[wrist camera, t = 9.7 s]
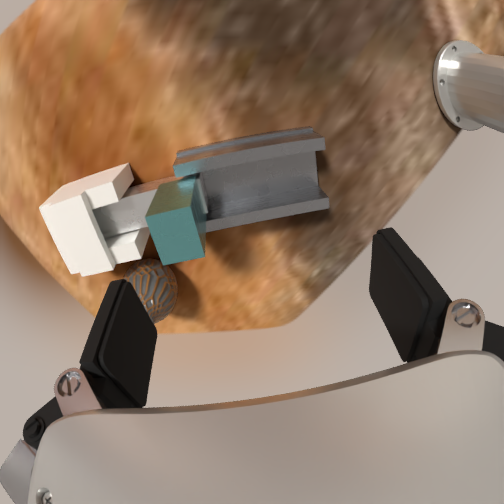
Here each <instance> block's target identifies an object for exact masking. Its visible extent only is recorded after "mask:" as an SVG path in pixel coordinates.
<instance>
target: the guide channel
mask: <svg viewBox="0 0 504 504" xmlns="http://www.w3.org/2000/svg"><path fill="white" fill-rule="evenodd" d="M319 150H325V140H324V137H323V136H321V135H319V134H318V133H316V132H314V131H313V128H312V127H310V126H309V127H301V128H294V129H287V130H280V131H274V132H267V133H262V134H256V135H250V136H245V137H239V138H234V139H229V140H224V141H219V142H215V143H210V144H206V145H201V146H197V147H193V148H188V149H184V150H180V151H178V152H177V158H176V160H175V162H174V164H173V168H174V172H175V176H176V178H178V177H182V176H186V175H190V174H195V173H199V172H201V173H202V177H203V181H204V185H205V189H206V193H207V197H208V213H206V232H211V231H216V230H220V229H225V228H230V227H235V226H240V225H245V224H250V223H254V222H259V221H265V220H270V219H275V218H280V217H285V216H290V215H295V214H301V213H306V212H311V211H317V210H322V209H328V208H329V197H328V196H327V195H326V194H325V193H324V191H323V190H322V189H321V188H320V187H319V186H318V178H317V166H316V155H315V151H319Z"/></svg>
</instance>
